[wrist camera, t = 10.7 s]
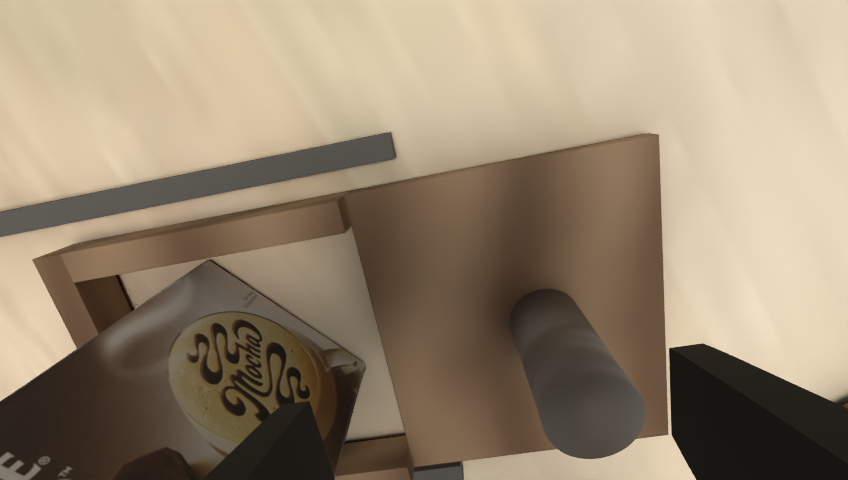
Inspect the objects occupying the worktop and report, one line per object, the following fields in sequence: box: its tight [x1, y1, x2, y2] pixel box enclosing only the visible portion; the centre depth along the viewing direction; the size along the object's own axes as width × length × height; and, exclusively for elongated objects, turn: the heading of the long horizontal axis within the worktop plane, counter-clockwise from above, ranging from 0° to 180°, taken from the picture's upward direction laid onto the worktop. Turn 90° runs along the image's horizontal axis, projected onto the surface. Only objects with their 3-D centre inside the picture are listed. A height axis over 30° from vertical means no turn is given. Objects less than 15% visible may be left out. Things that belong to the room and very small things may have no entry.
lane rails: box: [0, 132, 464, 480], centre depth 22 cm, size 28×30×1 cm
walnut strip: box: [33, 133, 668, 480], centre depth 16 cm, size 25×14×7 cm, turn 101°
